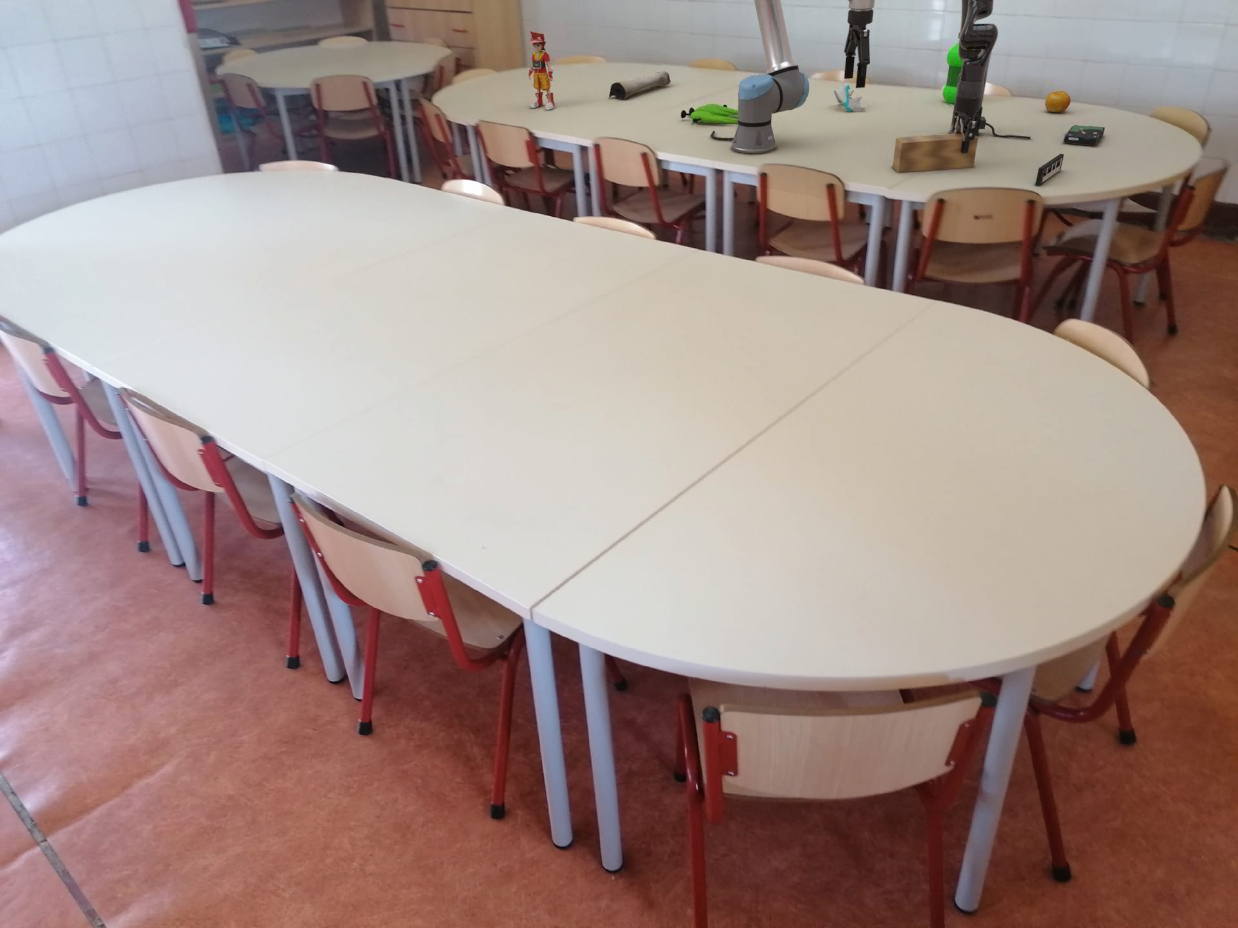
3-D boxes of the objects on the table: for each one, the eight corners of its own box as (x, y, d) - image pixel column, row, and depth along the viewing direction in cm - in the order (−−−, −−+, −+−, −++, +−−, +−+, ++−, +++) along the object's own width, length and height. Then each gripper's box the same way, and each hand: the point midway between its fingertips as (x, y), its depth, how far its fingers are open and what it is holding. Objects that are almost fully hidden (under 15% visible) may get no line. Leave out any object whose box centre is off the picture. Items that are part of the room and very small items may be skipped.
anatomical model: (829, 82, 357) (854, 75, 356) (832, 108, 363) (856, 101, 362) (839, 90, 345) (865, 83, 344) (842, 117, 351) (867, 111, 350)
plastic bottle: (973, 101, 354) (984, 32, 339) (955, 106, 349) (966, 36, 335) (952, 97, 361) (962, 29, 346) (934, 102, 356) (944, 33, 342)
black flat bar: (1039, 185, 269) (1043, 168, 266) (1035, 184, 270) (1038, 168, 267) (1060, 170, 279) (1064, 154, 277) (1056, 169, 280) (1060, 153, 277)
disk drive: (1096, 147, 298) (1103, 135, 308) (1098, 138, 296) (1105, 126, 306) (1062, 144, 302) (1070, 132, 312) (1064, 135, 301) (1072, 124, 311)
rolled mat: (651, 76, 408) (662, 61, 399) (662, 93, 408) (674, 79, 400) (605, 92, 391) (616, 77, 383) (617, 110, 391) (628, 95, 383)
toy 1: (525, 109, 381) (517, 32, 364) (534, 104, 388) (527, 28, 371) (550, 110, 377) (543, 32, 360) (559, 105, 384) (553, 28, 367)
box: (966, 161, 292) (971, 132, 287) (973, 167, 287) (978, 137, 282) (892, 167, 292) (896, 137, 286) (898, 172, 287) (902, 143, 281)
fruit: (1041, 103, 332) (1056, 84, 329) (1039, 107, 340) (1054, 87, 337) (1060, 116, 331) (1076, 96, 328) (1058, 119, 339) (1073, 100, 335)
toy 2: (670, 122, 346) (740, 135, 334) (671, 108, 344) (742, 120, 331) (703, 111, 367) (770, 123, 354) (704, 98, 364) (772, 109, 351)
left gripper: (838, 4, 284) (832, 75, 296) (860, 16, 263) (853, 92, 275) (861, 2, 284) (855, 74, 296) (885, 14, 263) (877, 91, 275)
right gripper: (948, 90, 283) (940, 144, 293) (966, 101, 271) (957, 157, 281) (972, 88, 283) (963, 143, 293) (990, 99, 271) (980, 155, 281)
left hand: (854, 83), depth 286 cm, fingers open, 13 cm apart
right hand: (960, 149), depth 287 cm, fingers closed on box, 6 cm apart
